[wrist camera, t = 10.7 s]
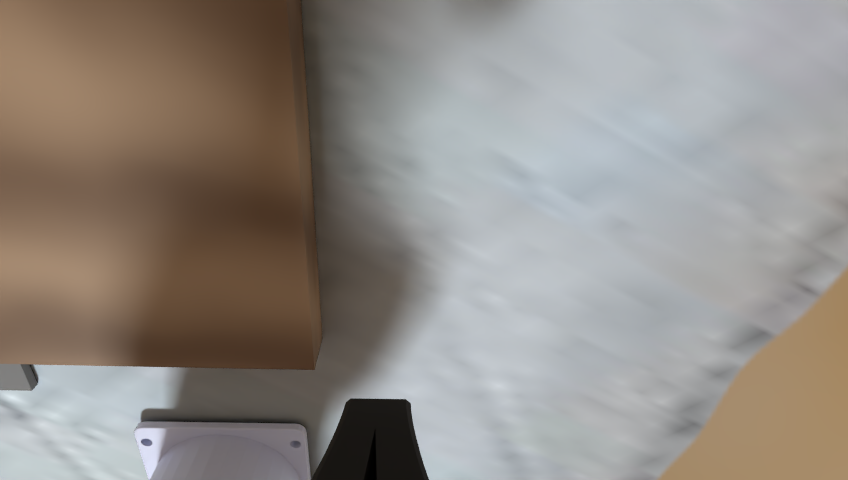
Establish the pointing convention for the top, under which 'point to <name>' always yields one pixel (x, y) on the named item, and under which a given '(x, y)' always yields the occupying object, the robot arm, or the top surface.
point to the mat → (17, 377)
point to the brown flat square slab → (156, 185)
